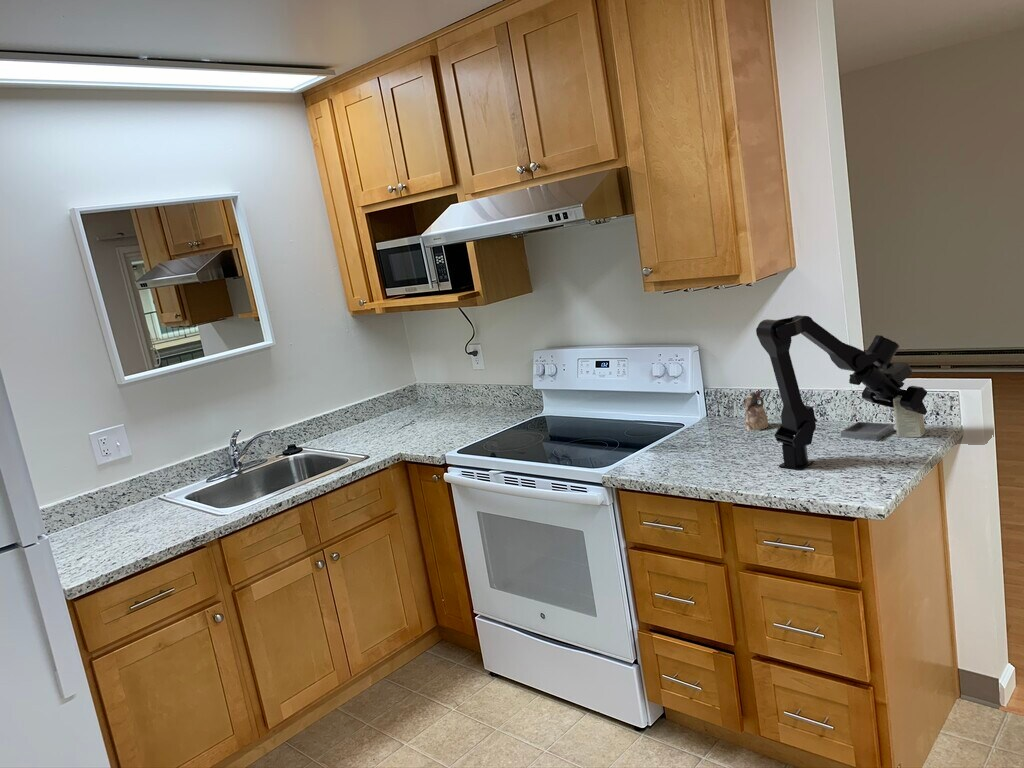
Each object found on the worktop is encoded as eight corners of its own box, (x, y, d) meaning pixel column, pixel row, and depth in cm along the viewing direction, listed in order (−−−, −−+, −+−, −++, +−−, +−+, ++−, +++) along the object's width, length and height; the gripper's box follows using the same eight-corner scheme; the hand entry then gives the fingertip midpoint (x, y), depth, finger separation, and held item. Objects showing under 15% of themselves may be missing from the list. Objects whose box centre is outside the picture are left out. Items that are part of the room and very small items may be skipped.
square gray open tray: (877, 440, 210) (876, 434, 210) (840, 437, 218) (840, 431, 218) (894, 430, 217) (893, 424, 216) (858, 427, 225) (857, 421, 224)
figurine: (744, 426, 246) (739, 390, 244) (767, 423, 245) (762, 387, 243) (746, 432, 240) (741, 395, 237) (770, 429, 238) (765, 392, 236)
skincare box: (925, 433, 209) (922, 390, 207) (921, 438, 206) (917, 394, 204) (900, 432, 214) (896, 390, 212) (895, 436, 211) (891, 394, 209)
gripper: (918, 357, 196) (956, 390, 201) (866, 351, 214) (902, 381, 219) (895, 394, 196) (933, 426, 200) (845, 384, 214) (882, 414, 218)
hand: (912, 410), depth 209 cm, fingers open, 9 cm apart
